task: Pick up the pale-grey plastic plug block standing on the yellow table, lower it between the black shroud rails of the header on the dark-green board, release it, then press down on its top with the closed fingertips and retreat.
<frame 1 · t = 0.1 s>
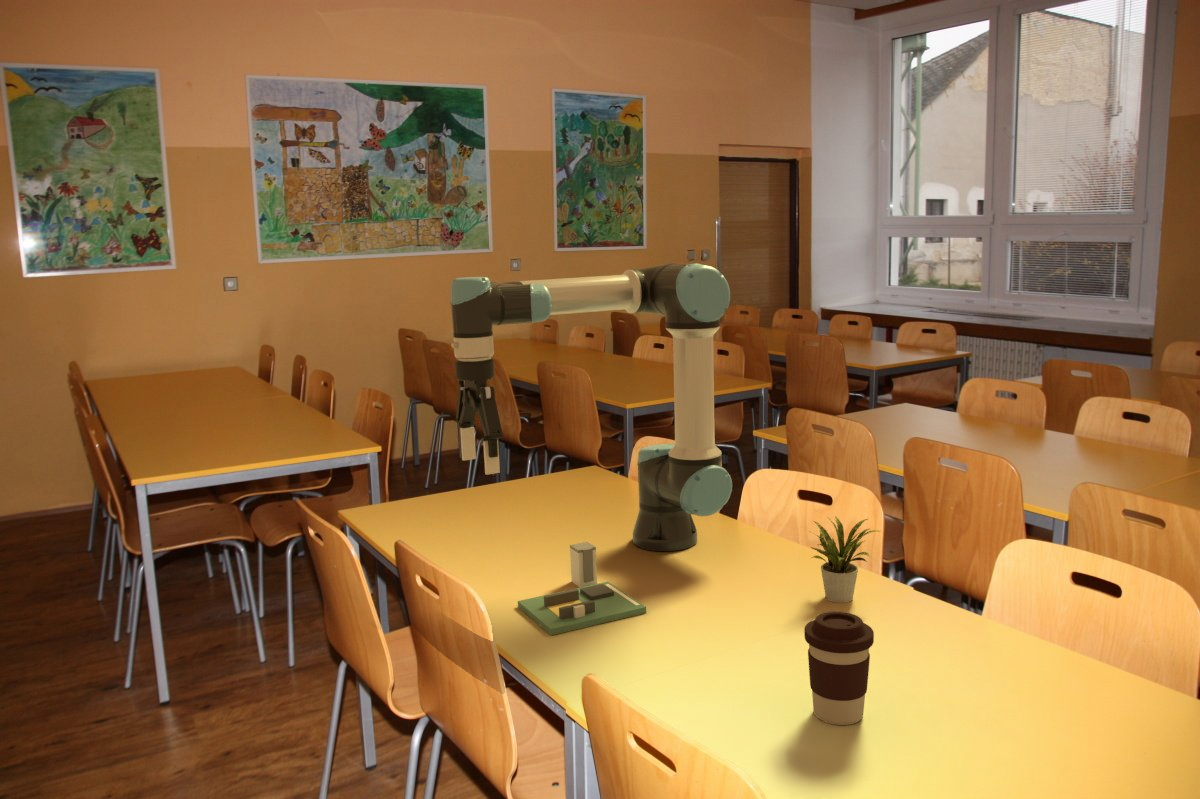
hand: (480, 466, 190), 28 cm above the table, fingers open, 13 cm apart
plug: (584, 582, 204), on the table
coffee cup: (838, 715, 146), on the table
house plant: (846, 598, 190), on the table
board: (581, 609, 189), on the table
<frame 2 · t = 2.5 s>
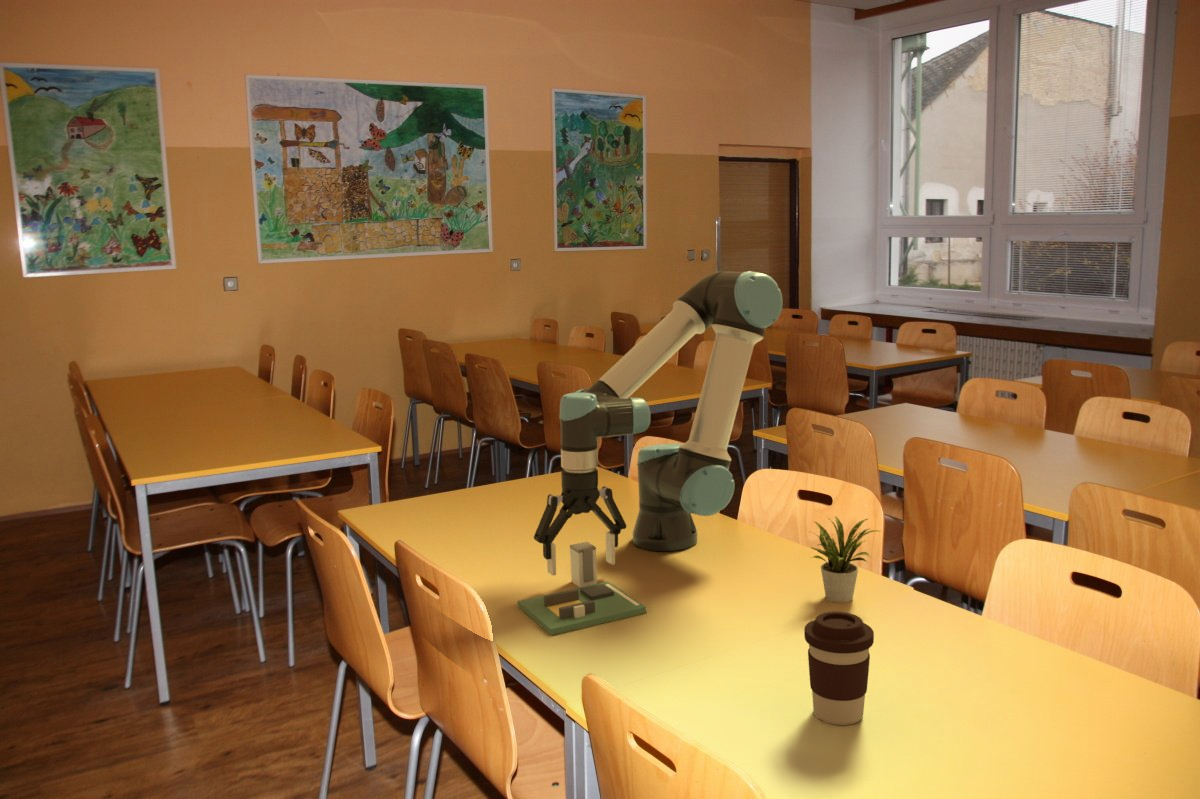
hand: (581, 568, 203), 3 cm above the table, fingers open, 13 cm apart
nothing on the table moved.
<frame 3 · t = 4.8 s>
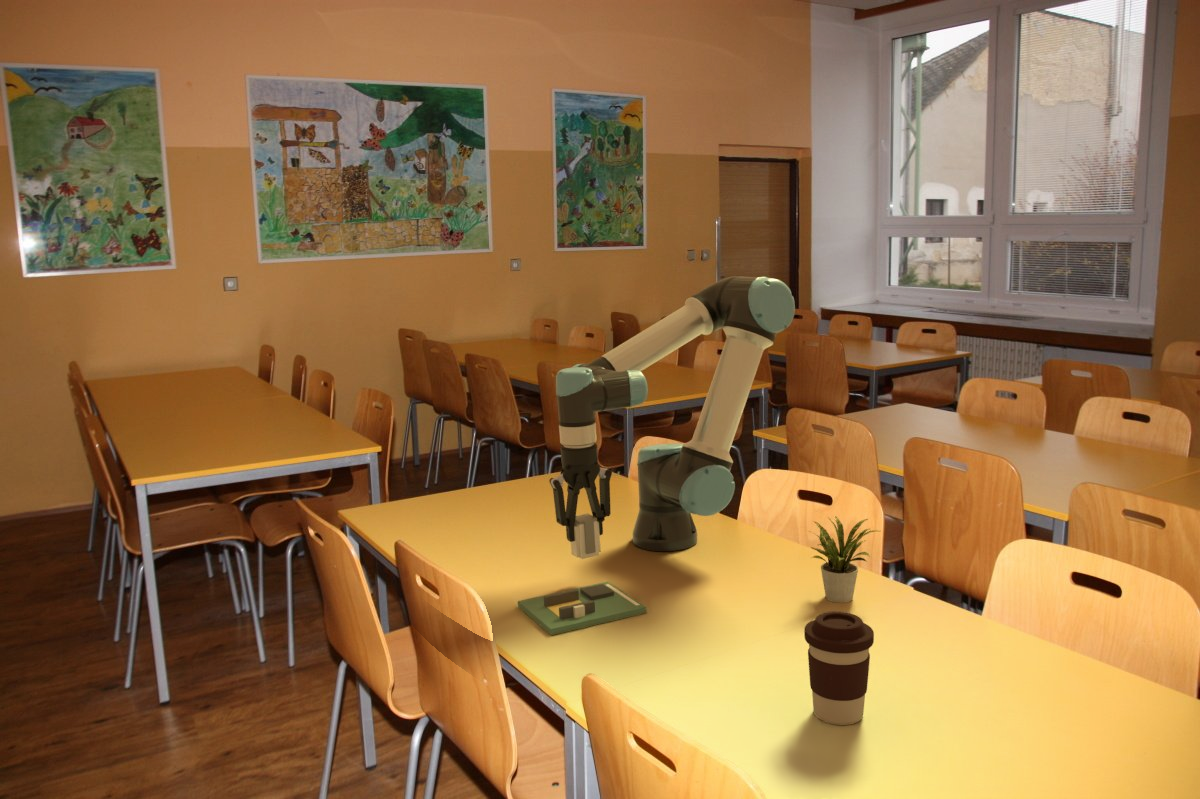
hand: (586, 552, 203), 6 cm above the table, fingers closed on plug, 4 cm apart
plug: (586, 554, 203), point 6 cm above the table, touching gripper
everything else where it was.
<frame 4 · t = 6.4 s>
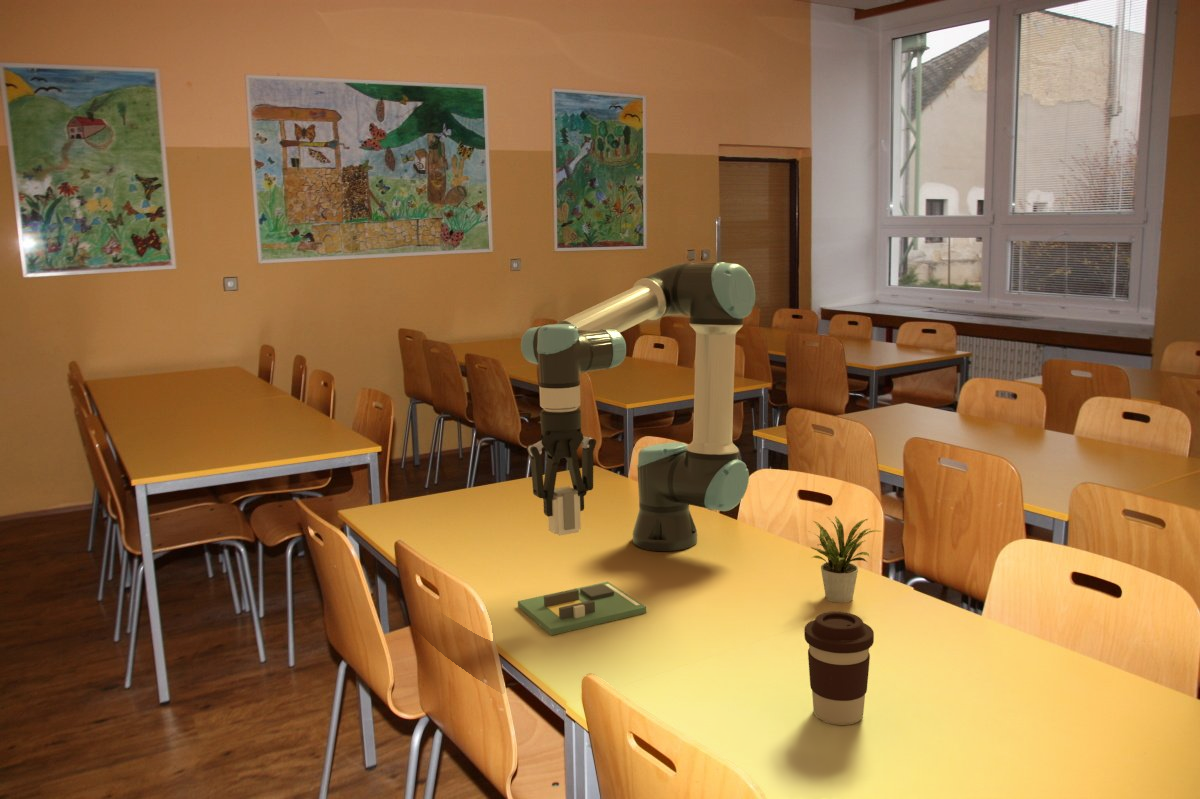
hand: (564, 529, 184), 17 cm above the table, fingers closed on plug, 4 cm apart
plug: (564, 531, 184), point 17 cm above the table, touching gripper
everything else where it was.
when the fingers open (2 cm above the table, at t = 8.3 s): plug stays where it is, resting on board.
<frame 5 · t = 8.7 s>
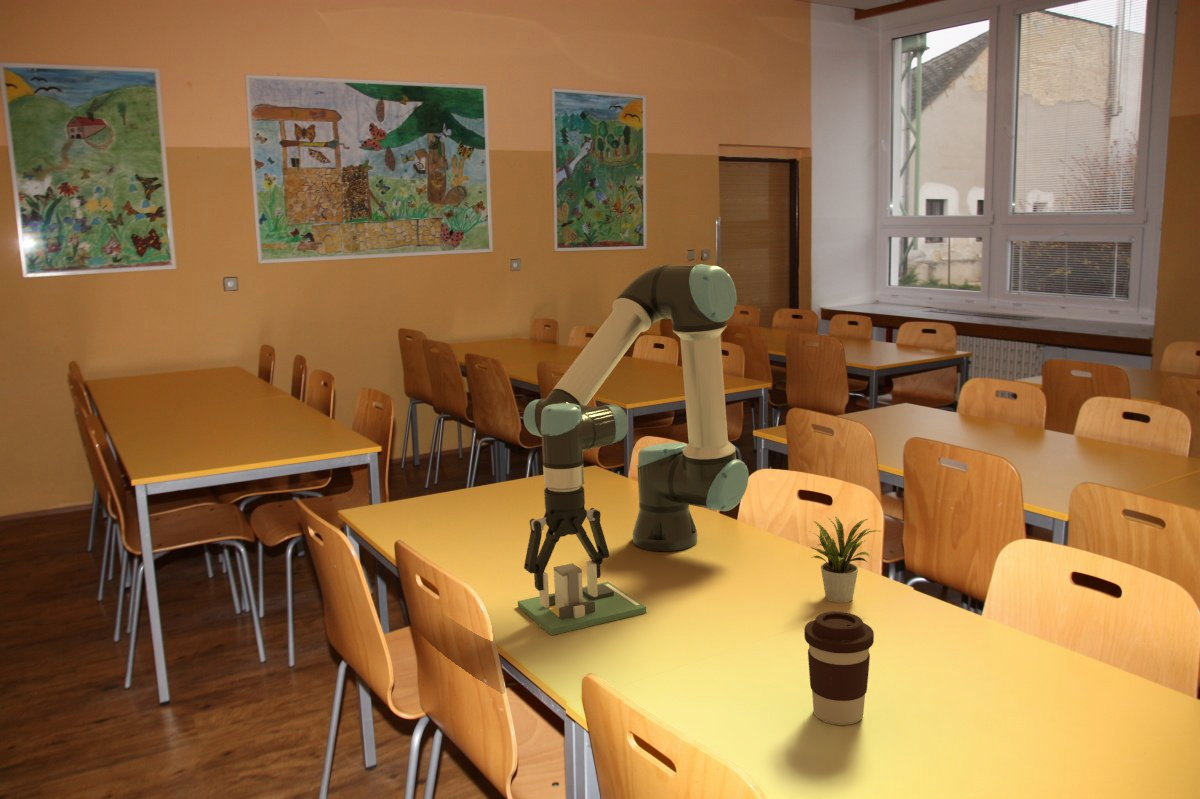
hand: (568, 599, 186), 3 cm above the table, fingers open, 9 cm apart
plug: (569, 608, 187), point 1 cm above the table, touching board
everything else where it was.
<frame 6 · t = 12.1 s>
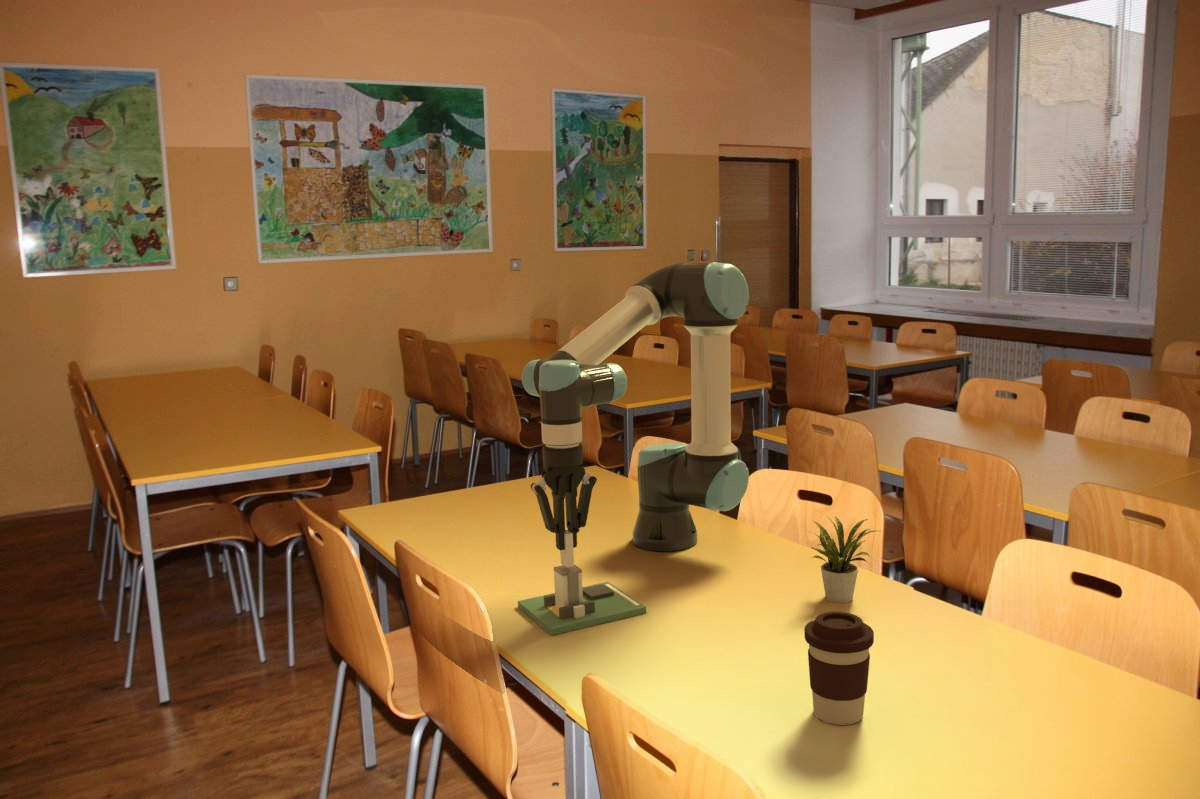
hand: (567, 564, 185), 10 cm above the table, fingers closed
nothing on the table moved.
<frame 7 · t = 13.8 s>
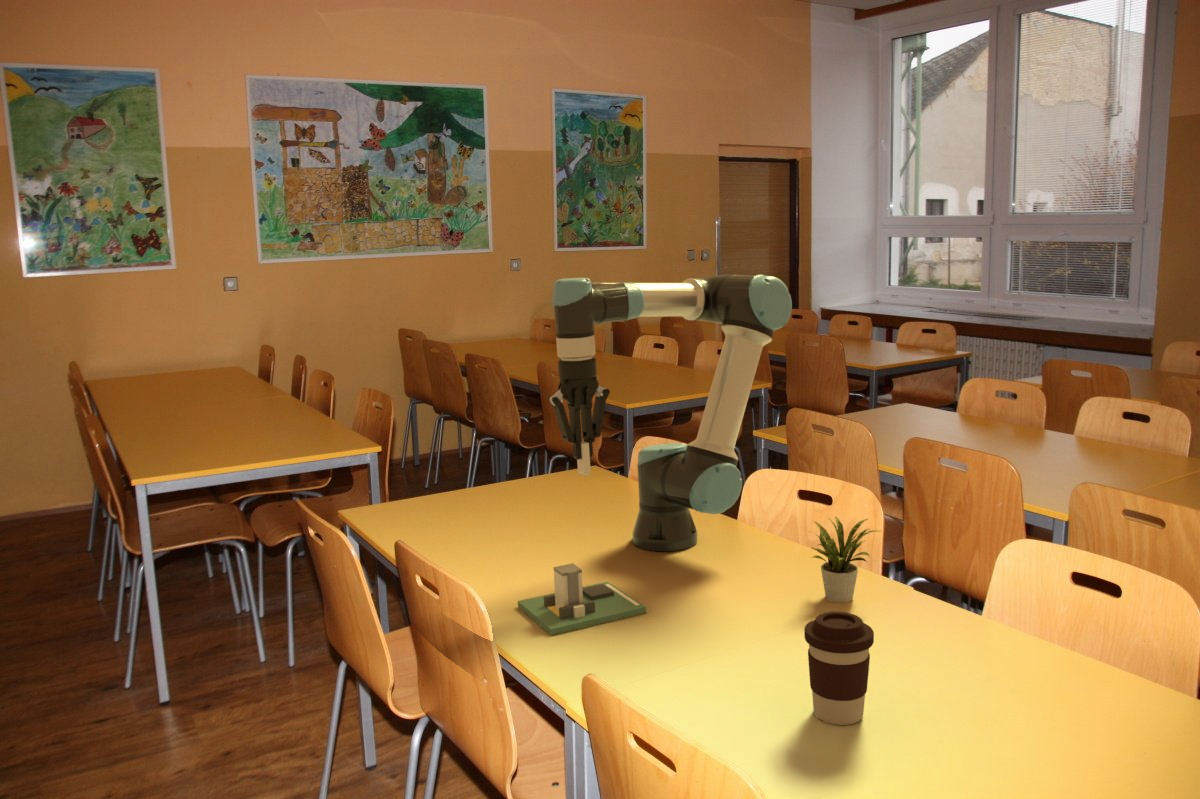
hand: (584, 473, 195), 24 cm above the table, fingers closed
nothing on the table moved.
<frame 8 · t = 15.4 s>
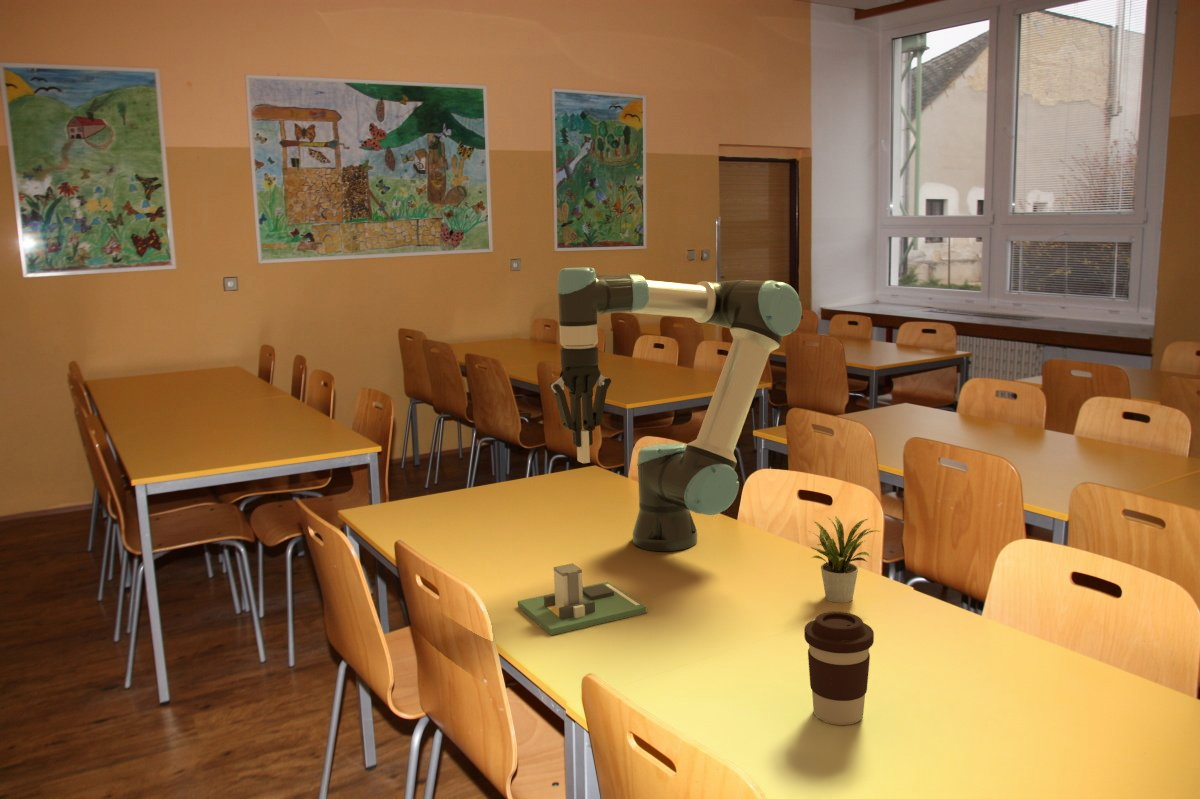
hand: (583, 461, 197), 26 cm above the table, fingers closed
nothing on the table moved.
at the end: plug 0.0 cm from the target spot on the board, point 1.3 cm above the board's base; plug tilted 0°; the gripper is holding nothing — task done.
